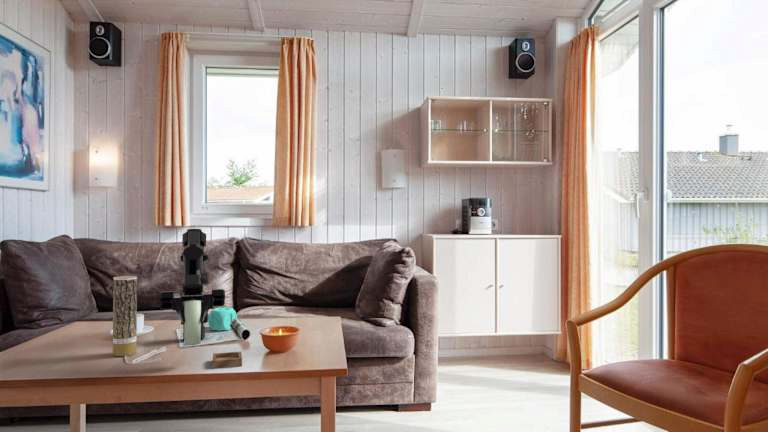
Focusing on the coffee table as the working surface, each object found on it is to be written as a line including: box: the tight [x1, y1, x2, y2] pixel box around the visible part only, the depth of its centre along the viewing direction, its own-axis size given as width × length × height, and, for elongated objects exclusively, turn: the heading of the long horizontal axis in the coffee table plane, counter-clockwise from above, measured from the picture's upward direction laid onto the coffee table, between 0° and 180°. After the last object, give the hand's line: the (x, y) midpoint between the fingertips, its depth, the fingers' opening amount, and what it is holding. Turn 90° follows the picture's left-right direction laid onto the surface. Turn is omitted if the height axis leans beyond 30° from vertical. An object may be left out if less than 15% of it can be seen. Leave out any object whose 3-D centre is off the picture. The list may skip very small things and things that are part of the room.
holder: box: [211, 351, 243, 369], centre depth 152 cm, size 8×8×2 cm
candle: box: [183, 299, 202, 346], centre depth 149 cm, size 5×5×13 cm
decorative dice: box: [207, 306, 238, 332], centre depth 198 cm, size 8×8×8 cm
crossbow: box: [124, 346, 167, 365], centre depth 158 cm, size 16×13×2 cm
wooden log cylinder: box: [112, 275, 138, 357], centre depth 161 cm, size 7×7×25 cm
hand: (192, 322), depth 147 cm, fingers closed on candle, 5 cm apart
